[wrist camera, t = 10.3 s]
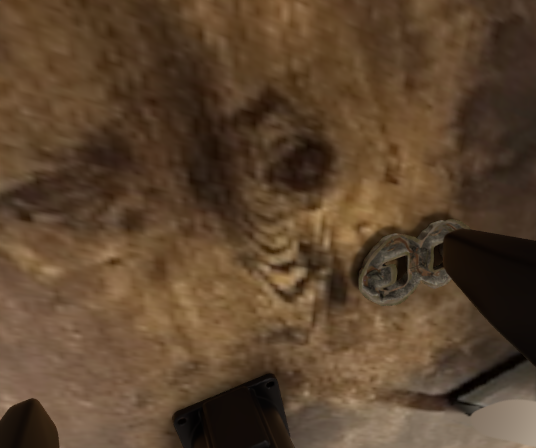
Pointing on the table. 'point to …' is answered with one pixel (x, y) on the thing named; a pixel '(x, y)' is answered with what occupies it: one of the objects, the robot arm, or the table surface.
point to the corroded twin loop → (417, 262)
